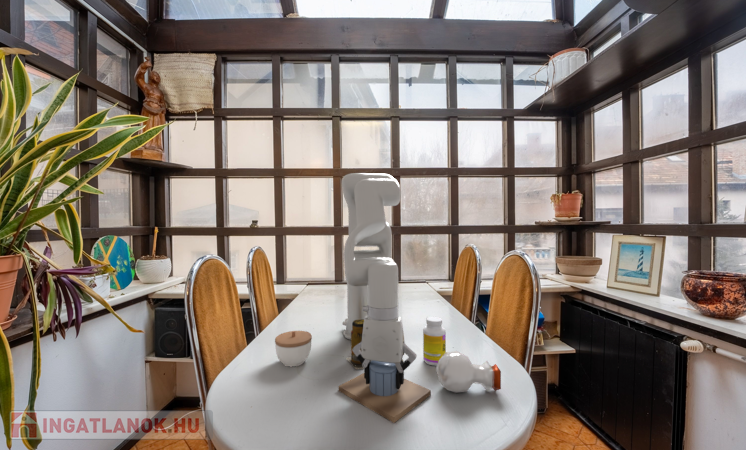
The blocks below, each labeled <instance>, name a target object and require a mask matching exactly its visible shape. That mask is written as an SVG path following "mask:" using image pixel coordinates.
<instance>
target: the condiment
mask: <svg viewBox="0 0 746 450" xmlns="http://www.w3.org/2000/svg"><path fill="white" fill-rule="evenodd" d="M363 325H364V319H358V320H354V321H353V323H352V331H351V340H350V357H346V358H345V359H346V361H347V362H348V363H349V364H350V365H351V366H352V367H353V368H354V369H355V371H356V370H364V367H363V366H362V363H361V362H360V361H359V360H358V358H357V356H356V355H355V354H354V352H353V351H352V349H353V348H354V347H355V346H356V345H357V344H359V343H360V342H361V341H362V333H363ZM360 350H361V349H360ZM371 361H372V360H371ZM371 361H370V362H371Z"/></svg>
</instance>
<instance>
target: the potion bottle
mask: <svg viewBox="0 0 746 450" xmlns="http://www.w3.org/2000/svg"><path fill="white" fill-rule="evenodd" d="M435 370H436V374H437V375H436V376H437V379H438V382H440V384H441V385H442V386H443V387H444V388H445V389H446V390H447V391H449V392H450V393H453V394H457V393H458V394H459V393H466V392H468V391H469V389H470V388H471V386H473V384H476V385H481V386H482V387H483V389H485V390H486V391H489V390H492V389H493V390H494V392H496V391H499V390H501V389H502V388H501V387H502V386H501V385H502V371H501V369H500V368H499V367H498V365H497V363H495V364H493V365H491V363H489V361H488V360H485V362H484V363H482V364H473V363H472V361H471V360H470V358H469V356H467V355H465V354H463V352H460V351H458V350H453V351H447V352H446V353H445V354H444V355H443V356H442V357H441V359H440V360H439V361H438V363H437V366H436V368H435Z"/></svg>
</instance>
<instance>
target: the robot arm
mask: <svg viewBox="0 0 746 450" xmlns="http://www.w3.org/2000/svg"><path fill="white" fill-rule="evenodd" d="M341 188H342V194H343V197H344V199H345V202H346V205H347V209H348V210H347V211H348V215H347V216H348V220H347V221H348V222H347V223H348V236H347V238H346V241H345V244H344V247H343V262H344V263H343V264H344V277H345V281H346V292H347V294H346V295H347V296H346V297H347V306H346V307H347V318H345V319H344V321H343V322H342V325H343V326H345V329H344V331H343V337H344V338H345V339H346V340H347V339H348V340H350V341H351V331H352V323H353V321H354V320H358V319H364V325H363V333H362V341H361V342H360V343H359V344H357V345H356V346H355V347H354V348H353V349H352V351H353V352H354V354H355V355H356V356H357V358H358V360H359V361H360V362H361V363H362V366H363V367H364V368H363V373H364V378H365V379H366V384H369V366H370V361H371V360H372V361H379V362H386V363H395V365H396V367H397V369H398V371H397V372H396V388H397V389H400V386H401V384H403V383H404V379H405V377H404V376H405V372H404V371H405V370H407V369H408V368H409V367H410V365H411V364H412V363H413V362H414V361H415V360H416V358H417V354H416V353H415V352H414V351H413V350H412V349H411V348H410V347H409V346H408V345H407V344H406V343H405V342H406V341H405V333H404V326H403V320H402V317H401V316H400V315H399V312H400V311H399V267H398V264H397V263H396V262H395V260H394V259H393V258H392V255H393V254H392V252H393V251H392V249H393V235H392V233H393V231H392V228H391V226H390V224H389V222H387V221H386V220H387V219H386V214H385V209H384V208H385V207H395V206H398V205H399V204H400V202H401V198H402V190H401V187H400V183H399V182H398V180H397V179H396V178H394V177H393V176H392V175H391V174H388V173H366V172H355V173H354V172H353V173H352V172H351V173H348V174H345V175H344V176H343V178H342V180H341ZM355 247H360V248H366V247H367V248H369V247H371V248H374V247H377V248H378V249H355ZM360 349H361V350H360ZM404 355H407V358H406V359H405V360H404V359H403V357H404Z"/></svg>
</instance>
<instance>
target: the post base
mask: <svg viewBox="0 0 746 450" xmlns="http://www.w3.org/2000/svg"><path fill="white" fill-rule="evenodd" d="M337 388H338V392H340V393H341V394H343V395H345V396H347V397H348V398H350V399H352V400H354V401H355V402H356V403H358V404H360V405H362V406H364V407H365V408H367V409H368V410H371V411H372V412H375V414H378V415H380V416H381V417H382V418H384V419H387V421H389V422H391V423H396V422H397V421H399V420H400V419H401V418H403V417H405V415H407V414H408V413H409V412H411V411H412V410H413V409H414V408H416V407H417V406H418V405H420V404H421V403H422V402H424V401H426V399H427V398H429V397H430V396H431V394H432V392H431V391H432V390H431V389H429V388H426V387H424V386H422V385H420V384H417V383H415V382H413V381H410V380H409V379H407V378H404V383H403V384H401V386H400V389H398V391H397V393H395V394H393V395H391V396H378V395H375V394H374V393H372V392H371V391H370V388H369V384H366V379H365V378H364V372H362V373H361V374H359V375H357V376H355V377H353V378H352V379H350V380H348V381H345V382H344V383H342V384H340V385H338V386H337Z"/></svg>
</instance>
